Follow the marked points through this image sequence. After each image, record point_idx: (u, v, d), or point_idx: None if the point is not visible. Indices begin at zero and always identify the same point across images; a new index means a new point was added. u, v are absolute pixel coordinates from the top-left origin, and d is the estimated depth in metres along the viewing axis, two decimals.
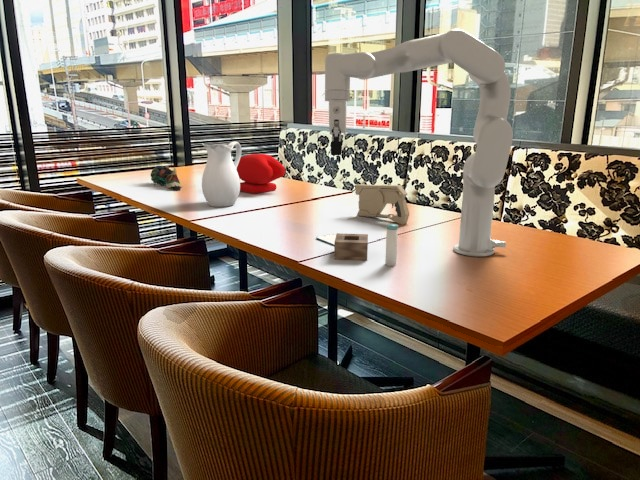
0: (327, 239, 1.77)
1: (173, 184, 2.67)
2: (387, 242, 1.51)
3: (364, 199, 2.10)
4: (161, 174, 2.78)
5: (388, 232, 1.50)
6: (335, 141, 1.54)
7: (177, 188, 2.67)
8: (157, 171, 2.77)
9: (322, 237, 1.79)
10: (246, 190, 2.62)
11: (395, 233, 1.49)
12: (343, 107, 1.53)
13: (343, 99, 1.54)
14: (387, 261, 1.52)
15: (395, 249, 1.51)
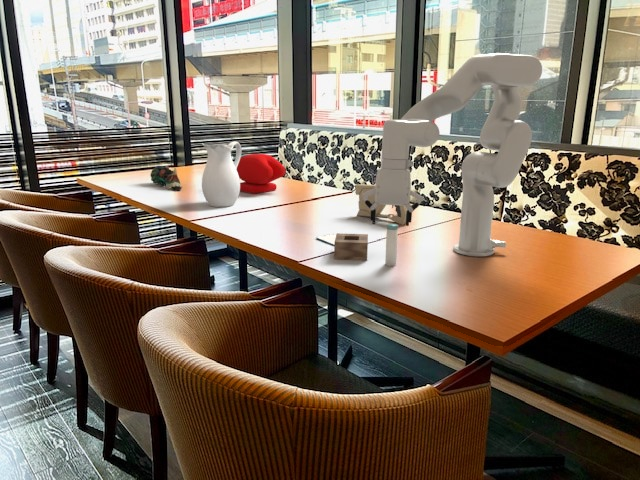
0: (327, 239, 1.77)
1: (174, 184, 2.67)
2: (387, 242, 1.51)
3: None
4: (161, 174, 2.77)
5: (388, 232, 1.50)
6: None
7: (178, 188, 2.67)
8: (157, 171, 2.76)
9: (322, 237, 1.79)
10: (246, 190, 2.62)
11: (395, 233, 1.49)
12: None
13: None
14: (387, 261, 1.52)
15: (395, 249, 1.51)
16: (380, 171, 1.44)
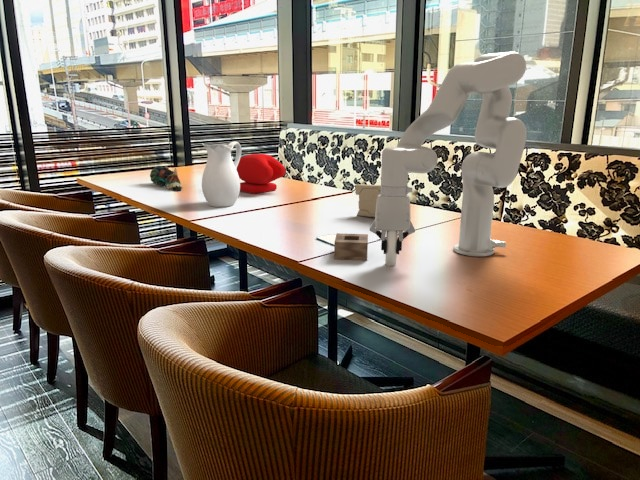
0: (327, 239, 1.77)
1: (174, 184, 2.66)
2: (387, 242, 1.51)
3: (364, 199, 2.10)
4: (161, 174, 2.76)
5: (388, 232, 1.50)
6: None
7: (178, 188, 2.66)
8: (157, 171, 2.76)
9: (322, 237, 1.79)
10: (246, 190, 2.62)
11: (395, 233, 1.49)
12: None
13: None
14: (387, 261, 1.52)
15: (395, 249, 1.51)
16: (380, 198, 1.46)
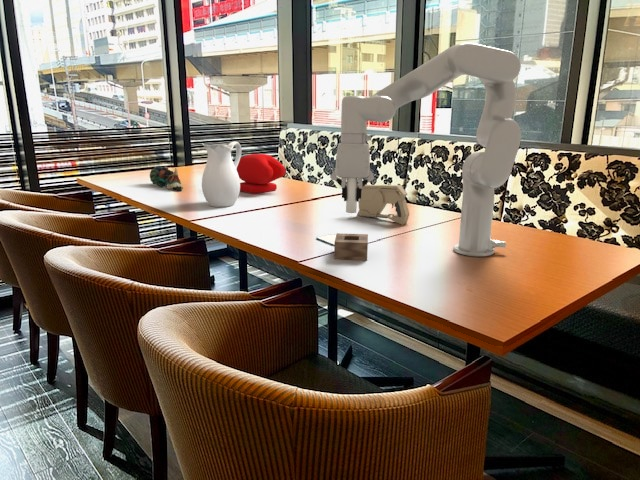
0: (327, 239, 1.77)
1: (175, 185, 2.66)
2: (347, 189, 1.56)
3: (364, 199, 2.10)
4: (161, 175, 2.76)
5: (348, 179, 1.54)
6: None
7: (179, 189, 2.66)
8: (157, 172, 2.75)
9: (322, 237, 1.79)
10: (246, 190, 2.62)
11: (355, 180, 1.54)
12: None
13: None
14: (347, 208, 1.57)
15: (355, 196, 1.56)
16: (340, 145, 1.51)
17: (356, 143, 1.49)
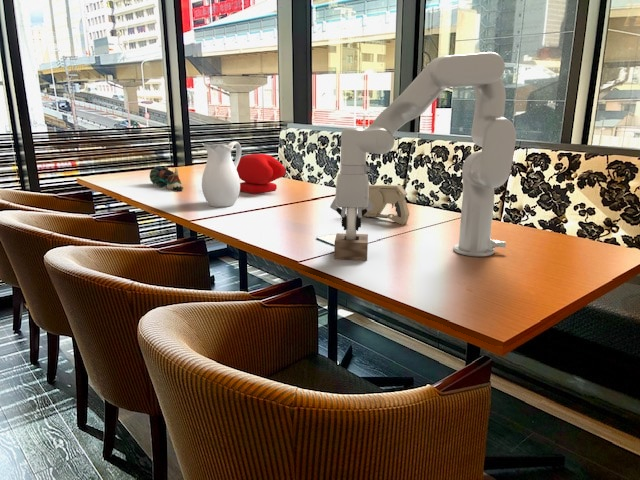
0: (327, 239, 1.77)
1: (175, 185, 2.65)
2: (347, 219, 1.58)
3: None
4: (161, 175, 2.75)
5: (348, 209, 1.57)
6: (361, 216, 1.58)
7: (179, 189, 2.65)
8: (157, 172, 2.74)
9: (322, 237, 1.79)
10: (246, 190, 2.62)
11: (354, 210, 1.57)
12: None
13: None
14: (347, 237, 1.59)
15: (354, 225, 1.58)
16: (339, 176, 1.54)
17: (355, 174, 1.51)
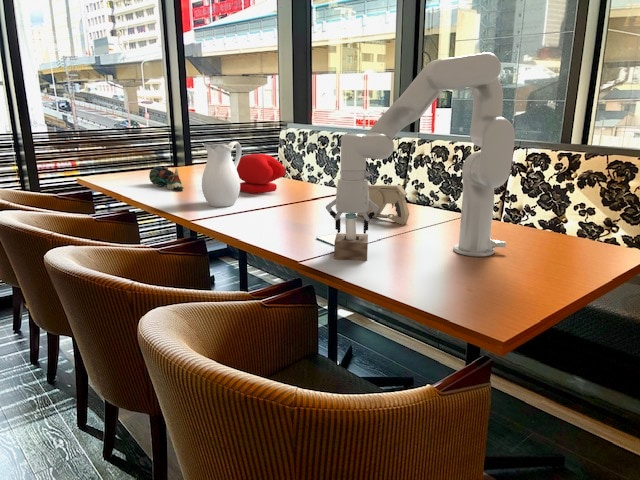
0: (327, 239, 1.77)
1: (176, 185, 2.65)
2: (346, 230, 1.59)
3: None
4: (161, 175, 2.75)
5: (347, 221, 1.58)
6: None
7: (180, 189, 2.65)
8: (157, 172, 2.74)
9: (322, 237, 1.79)
10: (246, 190, 2.62)
11: (353, 222, 1.58)
12: None
13: None
14: None
15: (354, 237, 1.59)
16: (339, 182, 1.54)
17: (355, 180, 1.52)
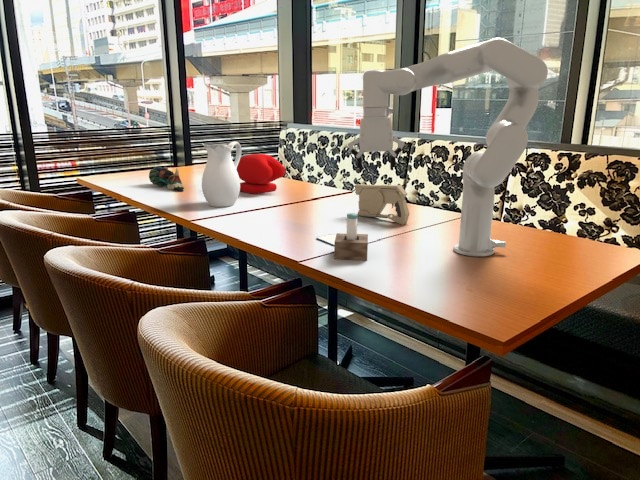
0: (327, 240, 1.77)
1: (176, 185, 2.65)
2: (347, 230, 1.59)
3: (364, 199, 2.10)
4: (161, 175, 2.74)
5: (348, 221, 1.58)
6: (395, 156, 1.58)
7: (180, 189, 2.65)
8: (157, 172, 2.73)
9: (322, 237, 1.79)
10: (246, 190, 2.62)
11: (354, 222, 1.58)
12: None
13: None
14: None
15: (355, 237, 1.59)
16: (363, 120, 1.54)
17: (379, 116, 1.52)
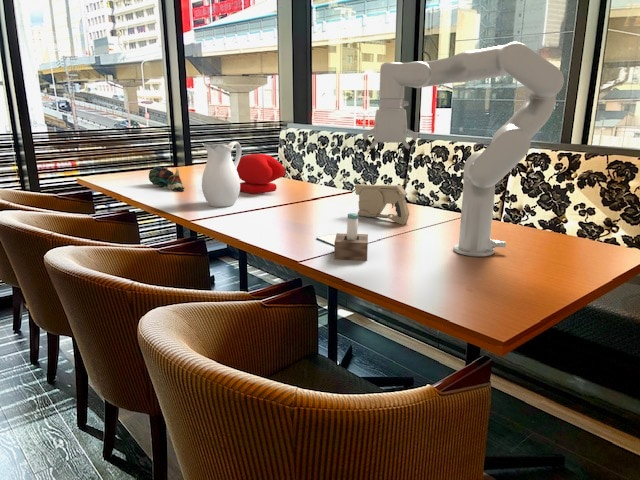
0: (327, 240, 1.77)
1: (177, 185, 2.64)
2: (348, 230, 1.59)
3: (364, 199, 2.10)
4: (161, 175, 2.74)
5: (349, 221, 1.58)
6: None
7: (181, 189, 2.65)
8: (157, 172, 2.73)
9: (322, 237, 1.79)
10: (246, 190, 2.61)
11: (355, 222, 1.58)
12: None
13: None
14: None
15: (355, 237, 1.59)
16: (378, 111, 1.57)
17: (395, 108, 1.55)
